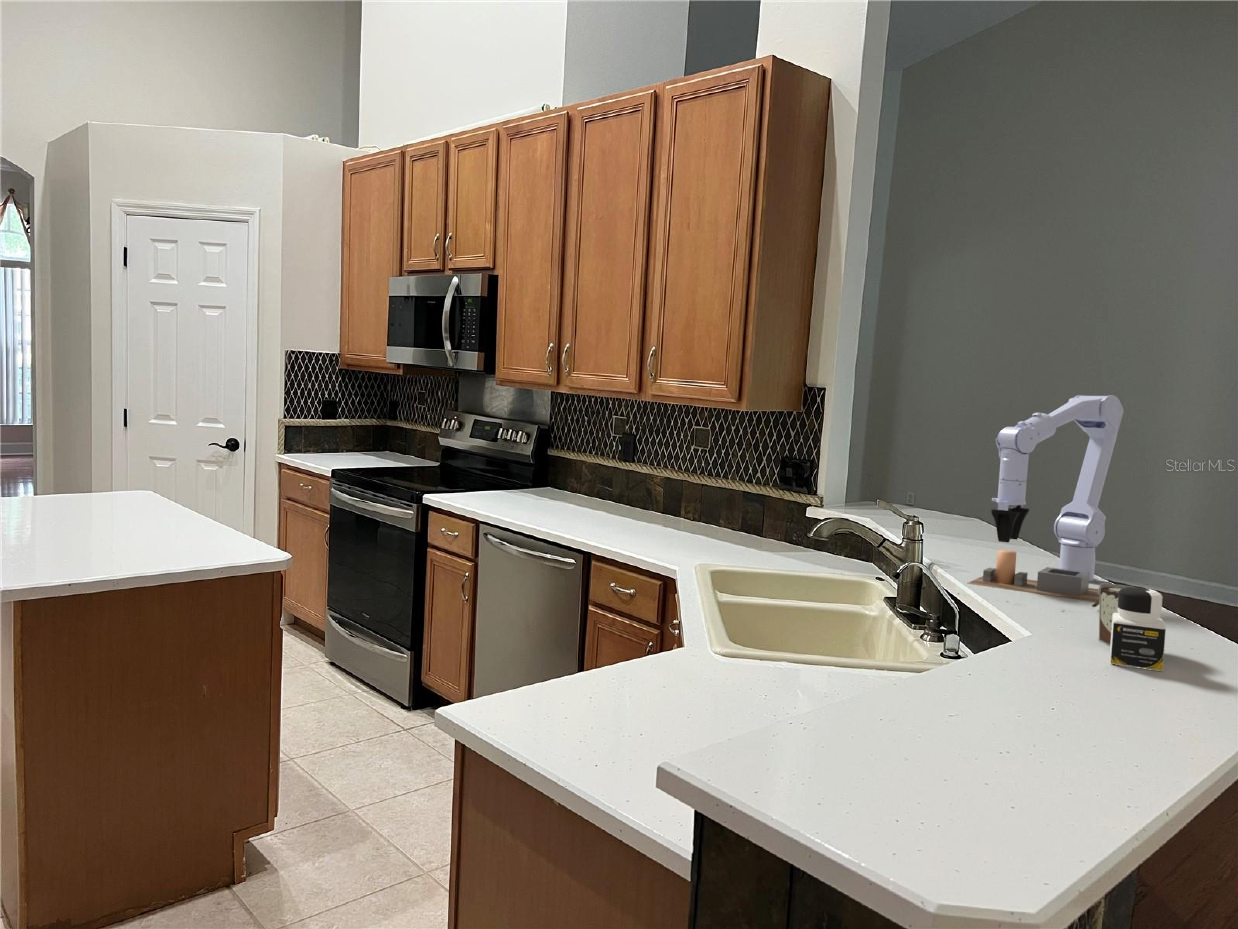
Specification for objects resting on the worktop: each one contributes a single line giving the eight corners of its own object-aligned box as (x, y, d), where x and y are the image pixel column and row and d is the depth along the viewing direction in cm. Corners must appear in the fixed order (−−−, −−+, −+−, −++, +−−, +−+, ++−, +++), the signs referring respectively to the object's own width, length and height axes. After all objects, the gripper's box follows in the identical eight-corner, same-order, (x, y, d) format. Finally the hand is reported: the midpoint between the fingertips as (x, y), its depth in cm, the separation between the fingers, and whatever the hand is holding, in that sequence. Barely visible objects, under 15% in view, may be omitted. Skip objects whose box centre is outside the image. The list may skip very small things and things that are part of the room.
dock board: (987, 578, 215) (988, 563, 215) (1109, 595, 200) (1111, 579, 199) (966, 587, 203) (967, 572, 202) (1096, 606, 187) (1097, 590, 187)
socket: (1045, 584, 204) (1047, 567, 204) (1088, 590, 199) (1089, 572, 198) (1036, 590, 197) (1037, 572, 197) (1080, 596, 192) (1081, 577, 192)
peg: (998, 579, 208) (999, 549, 208) (1016, 582, 206) (1018, 551, 205) (993, 582, 205) (995, 551, 204) (1011, 584, 202) (1013, 553, 202)
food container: (1170, 659, 148) (1175, 599, 147) (1132, 658, 148) (1137, 597, 147) (1129, 639, 160) (1133, 583, 159) (1094, 638, 160) (1098, 582, 160)
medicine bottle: (1110, 665, 143) (1115, 590, 143) (1109, 654, 150) (1114, 582, 149) (1162, 672, 140) (1168, 596, 139) (1159, 661, 146) (1165, 588, 146)
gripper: (1002, 477, 212) (997, 535, 213) (985, 479, 200) (980, 540, 201) (1034, 480, 208) (1029, 539, 208) (1019, 482, 196) (1014, 545, 197)
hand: (1008, 540), depth 204 cm, fingers open, 7 cm apart
